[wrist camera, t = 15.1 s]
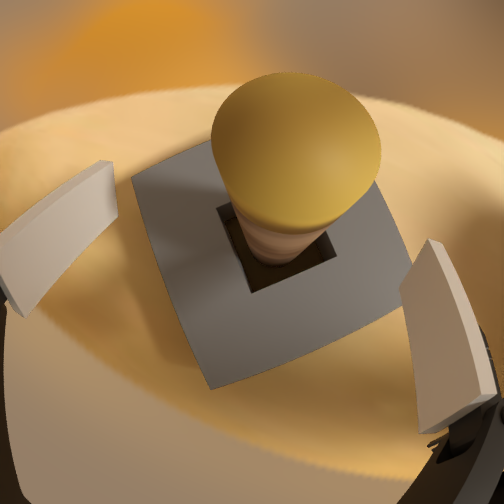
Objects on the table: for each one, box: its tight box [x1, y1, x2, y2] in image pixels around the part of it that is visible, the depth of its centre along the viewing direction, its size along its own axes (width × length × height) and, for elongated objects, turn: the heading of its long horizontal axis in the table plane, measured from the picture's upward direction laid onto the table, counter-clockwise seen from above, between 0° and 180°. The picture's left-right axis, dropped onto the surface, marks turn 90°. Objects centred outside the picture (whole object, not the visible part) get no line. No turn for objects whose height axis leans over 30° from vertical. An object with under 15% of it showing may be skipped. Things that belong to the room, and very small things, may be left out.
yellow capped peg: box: [211, 73, 381, 268], centre depth 14 cm, size 4×4×16 cm
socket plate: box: [131, 140, 412, 390], centre depth 20 cm, size 16×16×4 cm
